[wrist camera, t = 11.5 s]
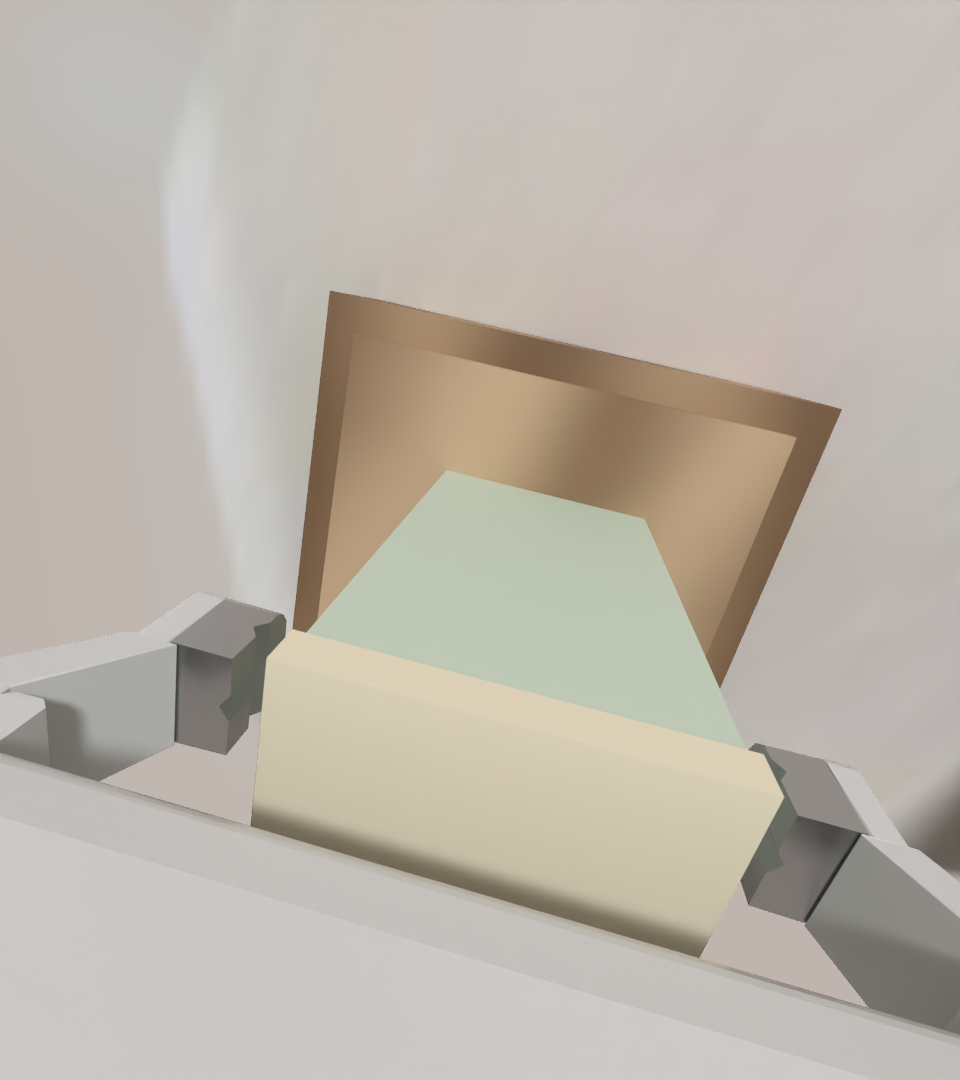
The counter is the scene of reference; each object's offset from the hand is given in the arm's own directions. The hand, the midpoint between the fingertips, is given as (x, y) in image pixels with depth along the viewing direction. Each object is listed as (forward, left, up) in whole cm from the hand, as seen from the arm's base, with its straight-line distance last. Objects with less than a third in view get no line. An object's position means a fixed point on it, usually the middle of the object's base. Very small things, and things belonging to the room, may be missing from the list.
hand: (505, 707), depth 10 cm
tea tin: (0, 0, -6) cm, 6 cm away
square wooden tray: (0, 0, -10) cm, 10 cm away
